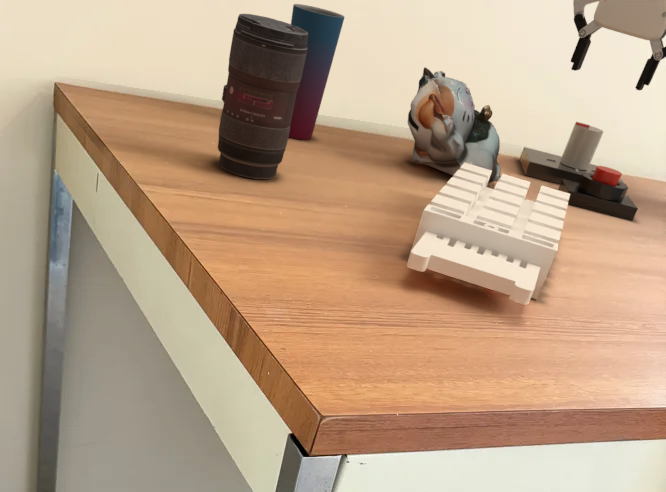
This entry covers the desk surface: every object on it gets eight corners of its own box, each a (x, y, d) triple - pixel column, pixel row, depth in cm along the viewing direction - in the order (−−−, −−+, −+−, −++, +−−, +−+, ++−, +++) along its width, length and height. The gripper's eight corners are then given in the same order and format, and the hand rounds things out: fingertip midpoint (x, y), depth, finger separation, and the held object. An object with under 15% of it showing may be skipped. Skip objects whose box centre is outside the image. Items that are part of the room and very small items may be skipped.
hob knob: (585, 165, 130) (601, 126, 126) (589, 172, 126) (606, 131, 123) (558, 159, 130) (574, 119, 126) (561, 165, 126) (577, 124, 123)
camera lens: (234, 181, 92) (260, 26, 82) (201, 157, 97) (222, 9, 87) (294, 183, 96) (325, 36, 86) (259, 161, 101) (285, 19, 91)
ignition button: (614, 183, 118) (619, 170, 117) (618, 189, 115) (624, 176, 114) (589, 176, 118) (594, 163, 117) (593, 182, 115) (598, 169, 114)
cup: (325, 139, 117) (353, 17, 108) (302, 143, 112) (329, 16, 103) (286, 125, 119) (309, 4, 110) (261, 128, 115) (283, 2, 105)
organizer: (570, 193, 98) (551, 275, 71) (553, 234, 101) (529, 327, 74) (464, 162, 100) (406, 229, 73) (451, 202, 103) (390, 282, 76)
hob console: (608, 182, 134) (615, 168, 132) (620, 200, 125) (627, 185, 124) (519, 159, 134) (524, 145, 133) (524, 175, 125) (530, 160, 124)
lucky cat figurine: (504, 194, 112) (502, 90, 101) (414, 209, 115) (403, 110, 104) (496, 136, 121) (494, 36, 110) (413, 152, 124) (403, 55, 113)
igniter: (623, 207, 121) (634, 183, 119) (632, 220, 115) (644, 195, 113) (557, 190, 121) (567, 165, 119) (563, 202, 116) (573, 177, 113)
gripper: (732, -44, 111) (667, 96, 121) (608, -75, 116) (556, 61, 126) (728, -48, 105) (661, 98, 116) (598, -81, 110) (545, 63, 121)
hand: (606, 79), depth 121 cm, fingers open, 9 cm apart
